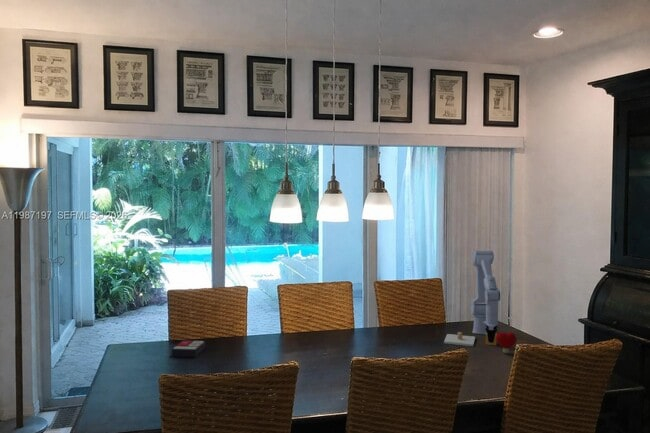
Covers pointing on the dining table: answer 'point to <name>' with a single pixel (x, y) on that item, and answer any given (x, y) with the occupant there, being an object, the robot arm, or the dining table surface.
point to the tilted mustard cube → (490, 342)
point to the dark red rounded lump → (506, 340)
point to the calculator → (188, 349)
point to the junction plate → (459, 339)
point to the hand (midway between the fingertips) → (491, 340)
